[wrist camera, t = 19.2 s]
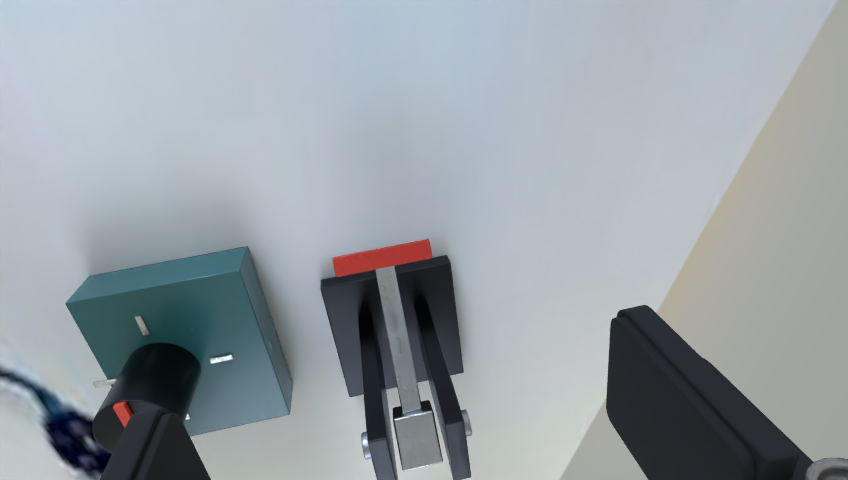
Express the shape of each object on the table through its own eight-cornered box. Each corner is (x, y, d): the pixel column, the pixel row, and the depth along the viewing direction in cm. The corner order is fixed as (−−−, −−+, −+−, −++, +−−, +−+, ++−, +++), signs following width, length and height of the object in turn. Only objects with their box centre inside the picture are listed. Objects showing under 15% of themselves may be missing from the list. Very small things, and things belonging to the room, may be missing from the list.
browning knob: (210, 388, 33) (190, 453, 28) (142, 402, 32) (110, 471, 27) (187, 335, 31) (160, 396, 26) (114, 350, 30) (73, 415, 25)
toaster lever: (335, 258, 29) (330, 257, 27) (426, 241, 30) (429, 238, 27) (373, 462, 28) (372, 479, 26) (465, 441, 29) (473, 455, 26)
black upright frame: (320, 279, 34) (314, 410, 23) (447, 254, 35) (498, 370, 24) (349, 386, 39) (355, 539, 28) (460, 362, 39) (509, 501, 28)
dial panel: (148, 414, 37) (131, 451, 34) (75, 278, 31) (48, 307, 28) (293, 383, 38) (289, 416, 35) (247, 245, 32) (238, 271, 29)
